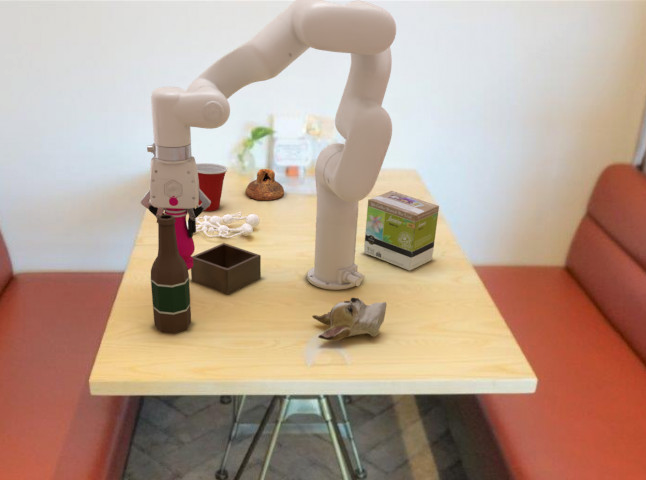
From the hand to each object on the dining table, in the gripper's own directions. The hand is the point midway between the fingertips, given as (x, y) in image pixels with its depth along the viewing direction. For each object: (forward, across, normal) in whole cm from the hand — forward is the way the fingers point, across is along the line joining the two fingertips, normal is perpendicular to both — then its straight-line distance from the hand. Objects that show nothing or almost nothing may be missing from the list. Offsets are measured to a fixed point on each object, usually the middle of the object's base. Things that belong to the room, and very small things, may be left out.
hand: (177, 234), depth 175 cm
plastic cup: (+15, +2, +58) cm, 60 cm away
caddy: (+14, +10, +9) cm, 19 cm away
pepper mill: (+8, 0, 0) cm, 8 cm away
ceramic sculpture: (+15, +37, -18) cm, 44 cm away
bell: (+15, +17, +71) cm, 74 cm away
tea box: (+15, +52, +24) cm, 59 cm away
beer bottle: (+15, 0, -15) cm, 21 cm away
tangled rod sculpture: (+15, +7, +39) cm, 42 cm away
